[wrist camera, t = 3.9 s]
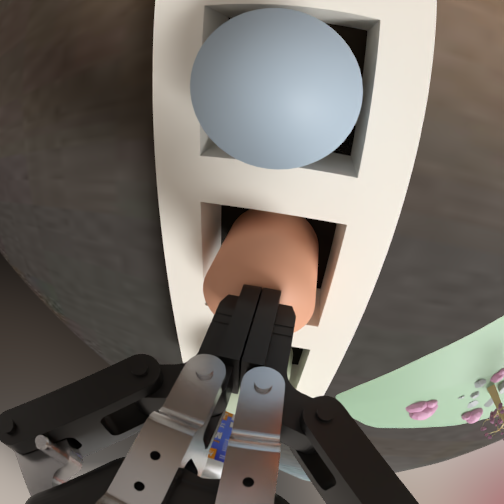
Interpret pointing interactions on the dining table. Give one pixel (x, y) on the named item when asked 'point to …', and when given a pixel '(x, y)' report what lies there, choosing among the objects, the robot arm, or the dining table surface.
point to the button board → (296, 179)
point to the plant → (438, 387)
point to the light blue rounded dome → (276, 88)
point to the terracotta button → (267, 261)
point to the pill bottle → (218, 448)
